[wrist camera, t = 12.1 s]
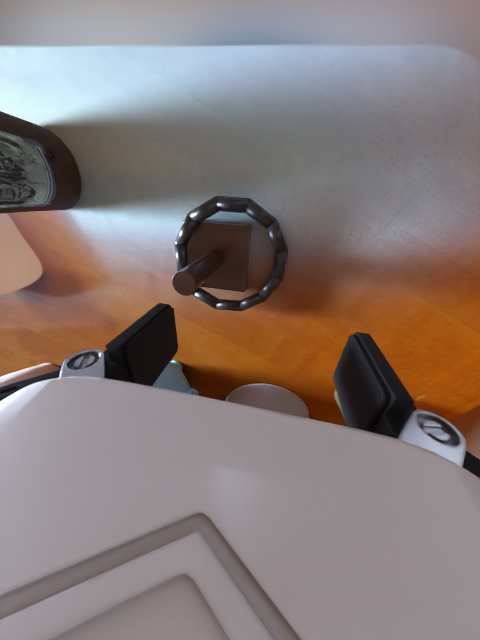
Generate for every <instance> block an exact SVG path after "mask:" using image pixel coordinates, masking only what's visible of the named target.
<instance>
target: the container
mask: <svg viewBox="0 0 480 640" xmlns="http://www.w3.org/2000/svg"><path fill="white" fill-rule="evenodd" d="M225 401H227V402H232V403H236V404H241V405H246V406H251V407H256V408H261V409H266V410H271V411H275V412H280V413H285V414H290V415H295V416H299V417H304V418H309V413H308V409H307V407H306V405H305V404H304V402H303V401H302V400H301V399H300V398H299V397H298V396H297V395H296V394H294V393H293V392H291V391H289V390H287V389H285V388H282V387H279V386H276V385H271V384H264V383H256V384H248V385H244V386H241V387H239V388H237V389H235V390H234V391H232V392H231V393H230V394H229V395H228V397H227V398H226V400H225Z"/></svg>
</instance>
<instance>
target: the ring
mask: <svg viewBox="0 0 480 640" xmlns="http://www.w3.org/2000/svg"><path fill="white" fill-rule="evenodd" d="M219 211H225V212H238V213H246V214H247V215H249V216H250V217H251V218H253V219H254V220H255V221H257V222H258V223H259V224H261V225H262V226H263V227H265V228H266V229H267V232H268V234H269V237H270V239H271V242H272V244H273V247H274V250H275V259H274V266H273V273H272V276H271V277H270V279H269V280H268V281H267V282H266V284H265V285H264V286H263V288H262V289H261V290H260V292H259V293H256V294H254V295H252V296H249V297H247V298H245V299H242V300H240V301H237V300H224V299H218V298H216V297H215V296H213V295H211V294H210V293H208V292H206V291H205V290H203V289H202V288H200V287H199V288H198V289H197V290H196V291H195V292H194V293H193V294H192V295H193V296H194V297H196V298H198V299H199V300H201V301H203V302H204V303H206V304H208V305H210V306H211V307H213V308H215V309H220V310H233V311H243V310H245V309H248V308H250V307H253V306H255V305H257V304H260V303H262V302H264V301H266V300H267V299H268V297H269V296H270V295H271V294H272V292H273V291H274V290H275V289H276V287H277V286H278V285H279V284H280V283H281V281H282V280H283V276H284V270H285V265H286V259H287V253H288V249H287V246H286V243H285V240H284V238H283V235H282V232H281V229H280V227H279V224H278V221H277V219H276V218H275V217H273V216H272V215H271V214H269V213H268V212H267V211H266V210H264V209H263V208H262V207H261V206H259V205H258V204H257V203H255V202H254V201H253V200H252V199H250V198H239V197H226V196H215V197H214V198H212V199H210V200H209V201H207V202H205V203H204V204H202V205H200V206H199V207H197V208H195V209H194V210H192V211H190V212H189V213H188V214H187V216H186V218H185V221H184V223H183V225H182V227H181V229H180V231H179V233H178V235H177V238H176V240H175V251H176V262H177V272H178V271H180V270H181V269H183V268H184V267H186V266H188V250H187V245H188V243H189V241H190V239H191V237H192V235H193V233H194V231H195V229H196V227H197V225H198V223H200V222H202V221H204V220H205V219H207V218H209V217H210V216H212V215H214V214H216V213H217V212H219Z"/></svg>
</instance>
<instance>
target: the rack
mask: <svg viewBox="0 0 480 640" xmlns="http://www.w3.org/2000/svg"><path fill="white" fill-rule="evenodd" d="M184 221H185V220H183V223H184ZM251 227H252V226H251V225H243V224H232V223H220V222H208V221H202V222H200V223H198V225H197V227H196V229H195V231H194V233H193V235H192V237H191V239H190V241H189V243H188V245H187V250H188V266H186V267H184V268H183V269H181V270H180V271H178V272H177V273H175V274H174V276H173V278H172V284H173V287H174V289H175V290H176V291H177V292H178V293H179V294H181V295H185V296H188V295H191V294H193V293H194V292H195V291H196V290H197V289H198V288H199V287H200V286H201V287H209V288H217V289H225V290H233V291H241V292H245V290H246V286H247V274H248V263H249V251H250V239H251Z"/></svg>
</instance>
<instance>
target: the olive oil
mask: <svg viewBox="0 0 480 640" xmlns="http://www.w3.org/2000/svg"><path fill="white" fill-rule="evenodd" d="M80 195H81V178H80V173H79V170H78V167H77V164H76V162H75V160H74V158H73V156H72V154H71V153H70V151H69V150H68V148H67V147H66V146H65V144H64V143H63V142H62V141H61V140H60V139H59V138H58V137H57V136H56V135H55V134H53V133H52V132H51V131H49V130H47V129H45V128H43V127H41V126H38V125H36V124H33V123H30V122H28V121H25V120H22V119H19V118H17V117H14V116H11V115H9V114H6V113H3V112H0V213H14V212H29V211H50V210H66V209H70V208H72V207H73V206H75V205H76V203H77V202H78V200H79V198H80Z"/></svg>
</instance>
